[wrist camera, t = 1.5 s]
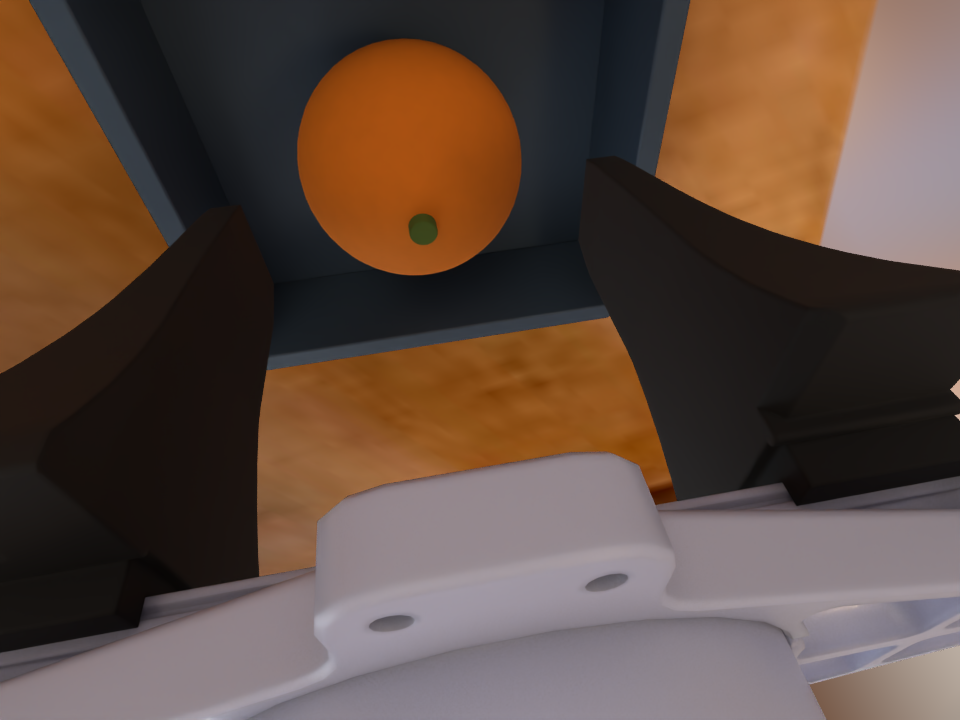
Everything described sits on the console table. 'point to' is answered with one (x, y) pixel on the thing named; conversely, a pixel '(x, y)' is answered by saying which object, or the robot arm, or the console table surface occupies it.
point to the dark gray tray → (275, 127)
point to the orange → (409, 156)
